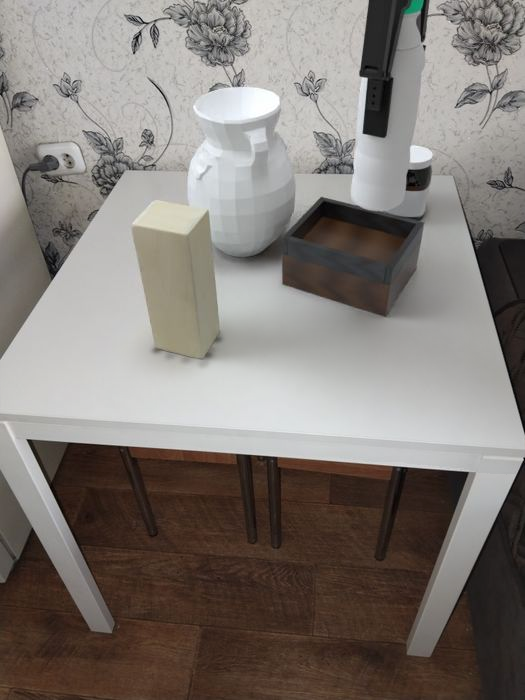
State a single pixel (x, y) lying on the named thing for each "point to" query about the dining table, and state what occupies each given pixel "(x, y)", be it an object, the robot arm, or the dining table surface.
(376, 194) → the water bottle
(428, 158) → the spread jar
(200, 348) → the beige rectangular block
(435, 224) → the dining table surface
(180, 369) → the dining table surface
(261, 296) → the dining table surface
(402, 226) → the open rectangular box
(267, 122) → the white vase
